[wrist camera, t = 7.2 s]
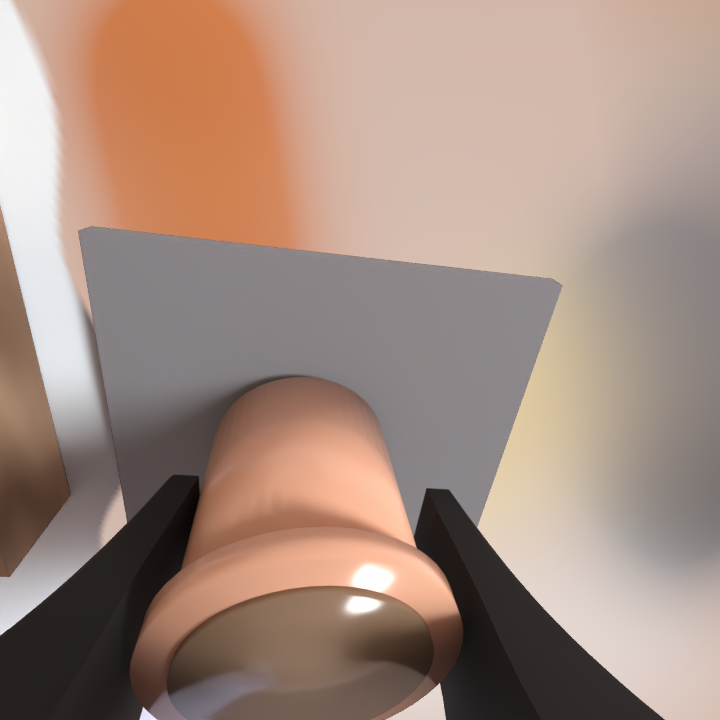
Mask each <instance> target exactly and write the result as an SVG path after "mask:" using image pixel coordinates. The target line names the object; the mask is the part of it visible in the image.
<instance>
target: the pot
mask: <svg viewBox="0 0 720 720" xmlns="http://www.w3.org/2000/svg"><path fill="white" fill-rule="evenodd" d="M462 643H463V624H462V620H461V616H460V613H459V610H458V607H457V604H456V602H455V599H454V596H453V593H452V590H451V587H450V585H449V583H448V580H447V578H446V576H445V574H444V573H443V572H442V570H441V569H440V568H439V566H438V565H437V564H436V563H435V562H434V561H433V560H432V559H431V558H429V557H428V556H427V555H426V554H425V553H423V552H421V551H420V550H418V549H417V548H416V544H415V541H414V538H413V534H412V531H411V528H410V524H409V521H408V518H407V514H406V511H405V508H404V504H403V501H402V498H401V494H400V491H399V488H398V484H397V481H396V478H395V474H394V471H393V468H392V464H391V461H390V458H389V454H388V451H387V448H386V444H385V441H384V438H383V434H382V431H381V428H380V424H379V421H378V419H377V417H376V415H375V413H374V411H373V410H372V408H371V407H370V406H369V405H368V403H367V402H366V401H365V400H364V399H363V398H361V397H360V396H359V395H358V394H357V393H355V392H354V391H352V390H350V389H349V388H347V387H345V386H342V385H340V384H338V383H335V382H332V381H328V380H325V379H319V378H311V377H293V378H285V379H279V380H275V381H272V382H268V383H265V384H263V385H261V386H258V387H256V388H254V389H252V390H251V391H249V392H247V393H245V394H244V395H243V396H241V397H240V398H239V399H237V400H236V401H235V402H234V403H233V404H232V405H231V406H230V407H229V409H228V410H227V411H226V413H225V414H224V415H223V417H222V419H221V421H220V423H219V425H218V428H217V430H216V433H215V437H214V441H213V445H212V449H211V453H210V457H209V461H208V465H207V469H206V473H205V477H204V481H203V485H202V489H201V493H200V497H199V501H198V504H197V508H196V512H195V516H194V520H193V524H192V528H191V532H190V536H189V540H188V544H187V548H186V552H185V556H184V560H183V564H182V568H181V571H180V572H178V573H177V574H176V575H175V576H174V577H173V578H172V579H170V580H169V581H168V582H167V583H166V584H165V585H164V586H163V587H162V589H161V590H160V591H159V592H158V593H157V595H156V596H155V597H154V599H153V600H152V602H151V604H150V606H149V607H148V609H147V611H146V614H145V617H144V620H143V623H142V626H141V629H140V633H139V636H138V639H137V643H136V646H135V649H134V652H133V656H132V659H131V663H130V680H131V686H132V689H133V691H134V693H135V695H136V698H137V699H138V701H139V702H140V703H141V705H142V706H143V707H144V708H145V709H146V710H147V711H148V712H149V713H150V714H151V715H152V716H153V717H154V718H156V719H157V720H385V719H387V718H389V717H391V716H393V715H395V714H397V713H399V712H401V711H403V710H404V709H406V708H408V707H409V706H411V705H413V704H414V703H416V702H417V701H418V700H420V699H421V698H422V697H424V696H425V695H427V694H428V693H429V692H430V691H431V690H432V689H434V688H435V687H436V686H437V685H438V684H439V683H440V682H441V681H442V680H443V678H444V677H445V676H446V675H447V674H448V673H449V671H450V670H451V668H452V667H453V665H454V664H455V662H456V660H457V658H458V655H459V653H460V651H461V647H462Z"/></svg>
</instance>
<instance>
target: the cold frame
mask: <svg viewBox="0 0 720 720" xmlns="http://www.w3.org/2000/svg"><path fill="white" fill-rule="evenodd" d="M69 496H70V491H69V487H68V483H67V479H66V474H65V470H64V466H63V462H62V458H61V454H60V450H59V446H58V442H57V437H56V433H55V429H54V425H53V421H52V417H51V413H50V409H49V405H48V400H47V396H46V392H45V388H44V384H43V380H42V376H41V372H40V367H39V363H38V359H37V355H36V351H35V347H34V343H33V339H32V335H31V330H30V326H29V322H28V318H27V314H26V310H25V306H24V302H23V298H22V293H21V289H20V285H19V281H18V277H17V273H16V269H15V265H14V261H13V256H12V252H11V248H10V244H9V240H8V236H7V232H6V228H5V223H4V219H3V215H2V211H1V207H0V577H10V576H11V574H12V573H13V572H14V570H15V569H16V568H17V566H18V565H19V564H20V562H21V561H22V560H23V558H24V557H25V556H26V554H27V553H28V552H29V550H30V549H31V548H32V546H33V545H34V543H35V542H36V541H37V539H38V538H39V537H40V535H41V534H42V533H43V531H44V530H45V529H46V527H47V526H48V525H49V523H50V522H51V521H52V519H53V518H54V517H55V515H56V514H57V513H58V511H59V510H60V509H61V507H62V506H63V504H64V503H65V502H66V500H67V499H68V498H69Z"/></svg>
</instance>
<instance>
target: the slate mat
mask: <svg viewBox="0 0 720 720" xmlns="http://www.w3.org/2000/svg"><path fill="white" fill-rule="evenodd" d="M78 233H79V239H80V245H81V251H82V256H83V263H84V269H85V275H86V281H87V287H88V292H89V298H90V304H91V310H92V316H93V322H94V328H95V334H96V340H97V346H98V352H99V358H100V364H101V370H102V376H103V381H104V387H105V393H106V399H107V405H108V411H109V417H110V423H111V429H112V435H113V441H114V447H115V453H116V459H117V465H118V470H119V476H120V482H121V488H122V494H123V500H124V506H125V511H126V517H127V523H128V522H129V521H130V520H131V519H132V518H133V517H134V516H135V514H136V513H137V512H138V511H139V510H140V509H141V508H142V507H143V506H144V505H145V504H146V503H147V502H148V501H149V500H150V498H151V497H152V496H153V495H154V494H155V493H156V492H157V491H158V490H159V489H160V487H161V486H162V485H163V484H164V483H165V482H166V481H167V480H168V479H169V478H170V477H171V476H172V475H192V476H199V488H200V493H201V489H202V485H203V481H204V477H205V473H206V469H207V465H208V461H209V457H210V453H211V449H212V445H213V441H214V437H215V433H216V430H217V428H218V425H219V423H220V421H221V419H222V417H223V415H224V414H225V413H226V411H227V410H228V409H229V407H230V406H231V405H232V404H233V403H234V402H235V401H236V400H237V399H239V398H240V397H241V396H243V395H244V394H245V393H247V392H249V391H251V390H252V389H254V388H256V387H258V386H261V385H263V384H265V383H268V382H272V381H275V380H279V379H285V378H293V377H311V378H319V379H325V380H328V381H332V382H335V383H338V384H340V385H342V386H345V387H347V388H349V389H350V390H352V391H354V392H355V393H357V394H358V395H359V396H360V397H361V398H363V399H364V400H365V401H366V402H367V403H368V405H369V406H370V407H371V408H372V410H373V411H374V413H375V415H376V417H377V419H378V421H379V424H380V428H381V431H382V434H383V438H384V441H385V444H386V448H387V451H388V454H389V458H390V461H391V464H392V468H393V471H394V474H395V478H396V481H397V484H398V488H399V491H400V494H401V498H402V501H403V504H404V508H405V511H406V514H407V518H408V521H409V524H410V528H411V531H412V534H413V537H414V534H415V530H416V526H417V522H418V518H419V515H420V511H421V507H422V503H423V499H424V495H425V492H426V488H433V489H449V490H450V492H451V493H452V494H453V495H454V497H455V498H456V500H457V501H458V502H459V504H460V505H461V507H462V508H463V509H464V511H465V512H466V513H467V515H468V516H469V518H470V519H471V520H472V522H473V523H474V524H475V526H476V527H477V526H478V523H479V520H480V518H481V515H482V512H483V509H484V506H485V503H486V500H487V498H488V495H489V492H490V489H491V486H492V483H493V481H494V477H495V475H496V472H497V469H498V467H499V464H500V460H501V458H502V455H503V452H504V450H505V447H506V444H507V441H508V438H509V435H510V433H511V430H512V427H513V424H514V421H515V418H516V416H517V413H518V410H519V407H520V404H521V401H522V399H523V396H524V393H525V390H526V387H527V384H528V381H529V379H530V376H531V373H532V370H533V367H534V365H535V362H536V359H537V356H538V353H539V350H540V347H541V345H542V342H543V339H544V336H545V333H546V331H547V328H548V325H549V322H550V319H551V316H552V314H553V311H554V308H555V305H556V302H557V300H558V297H559V293H560V291H561V288H562V285H561V284H560V283H558V282H556V281H555V280H553V279H549V278H541V277H532V276H523V275H515V274H506V273H497V272H488V271H479V270H471V269H462V268H452V267H444V266H435V265H427V264H418V263H409V262H400V261H391V260H383V259H373V258H364V257H356V256H348V255H339V254H329V253H320V252H312V251H304V250H295V249H286V248H277V247H268V246H259V245H251V244H242V243H232V242H224V241H216V240H207V239H198V238H189V237H181V236H172V235H163V234H154V233H146V232H136V231H127V230H119V229H110V228H102V227H92V226H91V227H88V228H85V229H82V230H79V231H78Z"/></svg>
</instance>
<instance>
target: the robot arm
mask: <svg viewBox="0 0 720 720" xmlns="http://www.w3.org/2000/svg"><path fill="white" fill-rule="evenodd" d="M199 497H200V488H199V476H192V475H172V476H171V477H170V478H169V479H168V480H167V481H166V482H165V483H164V484H163V485H162V486H161V487H160V489H159V490H158V491H157V492H156V493H155V494H154V495H153V496H152V497H151V498H150V500H149V501H148V502H147V503H146V504H145V505H144V506H143V507H142V508H141V509H140V510H139V511H138V512H137V513H136V514H135V516H134V517H133V518H132V519H131V520H130V521H129V522H128V523H127V524H126V525H125V526H124V527H123V528H122V529H121V530H120V531H119V532H118V533H117V534H116V535H115V536H114V537H113V538H112V539H111V540H110V541H109V542H108V543H107V544H106V545H105V546H104V547H103V548H102V549H101V550H100V551H99V552H98V553H96V554H95V555H94V556H93V557H92V558H91V559H90V560H89V561H88V562H87V563H86V564H85V565H83V566H82V567H81V568H80V569H79V570H78V571H77V572H76V573H75V574H74V575H73V576H72V577H71V578H69V579H68V580H67V581H66V582H65V583H64V584H63V585H62V586H60V587H59V588H58V589H57V590H56V591H55V592H53V593H52V594H51V595H50V596H49V597H48V598H46V599H45V600H44V601H43V602H42V603H41V604H39V605H38V606H37V607H36V608H34V609H33V610H32V611H31V612H30V613H28V614H27V615H26V616H25V617H23V618H22V619H21V620H20V621H19V622H17V623H16V624H15V625H13V626H12V627H11V628H10V629H8V630H7V631H6V632H4V633H3V634H2V635H0V720H157V719H156V718H154V717H153V716H152V715H151V714H150V713H149V712H148V711H147V710H146V709H145V708H144V707H143V706H142V705H141V703H140V702H139V701H138V699H137V698H136V695H135V693H134V691H133V689H132V686H131V680H130V663H131V659H132V656H133V652H134V649H135V646H136V643H137V639H138V636H139V633H140V629H141V626H142V623H143V620H144V617H145V614H146V611H147V609H148V607H149V606H150V604H151V602H152V600H153V599H154V597H155V596H156V595H157V593H158V592H159V591H160V590H161V589H162V587H163V586H164V585H165V584H166V583H167V582H168V581H169V580H170V579H172V578H173V577H174V576H175V575H176V574H177V573H178V572H180V571H181V568H182V564H183V560H184V556H185V552H186V548H187V544H188V540H189V536H190V532H191V528H192V524H193V520H194V516H195V512H196V508H197V504H198V501H199ZM413 538H414V541H415V544H416V548H417V549H418V550H420V551H421V552H423V553H425V554H426V555H427V556H428V557H429V558H431V559H432V560H433V561H434V562H435V563H436V564H437V565H438V566H439V568H440V569H441V570H442V572H443V573H444V574H445V576H446V578H447V580H448V583H449V585H450V587H451V590H452V593H453V596H454V599H455V602H456V604H457V607H458V610H459V613H460V616H461V620H462V624H463V643H462V647H461V651H460V653H459V655H458V658H457V660H456V662H455V664H454V665H453V667H452V668H451V670H450V671H449V673H448V674H447V675H446V676H445V677H444V678H443V680H442V681H441V682H440V685H441V690H442V695H443V701H444V708H445V715H446V720H664V719H663V718H662V717H661V716H660V715H658V714H657V713H656V712H655V711H653V710H652V709H651V708H650V707H649V706H647V705H646V704H645V703H644V702H642V701H641V700H640V699H639V698H638V697H637V696H635V695H634V694H633V693H632V692H631V691H630V690H628V689H627V688H626V687H625V686H624V685H623V684H621V683H620V682H619V681H618V680H617V679H616V678H615V677H614V676H612V674H610V673H609V672H608V671H607V670H606V669H605V668H604V667H603V666H601V665H600V664H599V663H598V662H597V661H596V660H595V659H594V658H593V657H592V656H591V655H589V654H588V653H587V652H586V651H585V650H584V649H583V648H582V647H581V646H580V645H579V644H578V643H577V642H576V641H575V640H574V639H573V638H572V637H571V636H570V635H569V634H568V633H567V632H566V631H565V630H564V629H563V628H562V627H561V626H560V625H559V624H558V623H557V622H556V621H555V620H554V619H553V618H552V617H551V616H550V615H549V614H548V613H547V612H546V611H545V610H544V609H543V607H542V606H541V605H540V604H539V603H538V602H537V601H536V600H535V599H534V598H533V596H532V595H531V594H530V593H529V592H528V591H527V590H526V589H525V587H524V586H523V585H522V584H521V583H520V581H519V580H518V579H517V578H516V577H515V576H514V574H513V573H512V572H511V571H510V569H508V567H507V566H506V565H505V563H504V562H503V561H502V560H501V558H500V557H499V556H498V555H497V553H496V552H495V551H494V549H493V548H492V547H491V546H490V545H489V543H488V542H487V540H486V539H485V538H484V537H483V535H482V534H481V533H480V531H479V530H478V529H477V527H476V526H475V524H474V523H473V522H472V520H471V519H470V518H469V516H468V515H467V513H466V512H465V511H464V509H463V508H462V507H461V505H460V504H459V502H458V501H457V500H456V498H455V497H454V495H453V494H452V493H451V492H450V490H449V489H433V488H426V492H425V495H424V499H423V503H422V507H421V511H420V515H419V518H418V522H417V526H416V530H415V534H414V537H413Z"/></svg>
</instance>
